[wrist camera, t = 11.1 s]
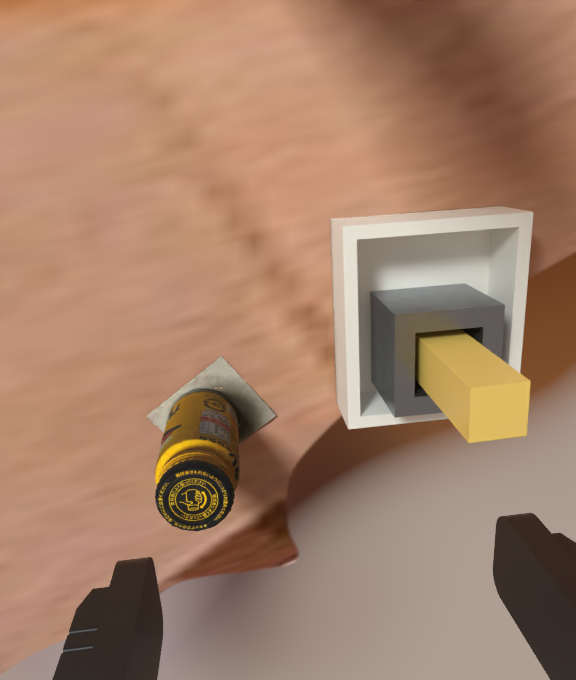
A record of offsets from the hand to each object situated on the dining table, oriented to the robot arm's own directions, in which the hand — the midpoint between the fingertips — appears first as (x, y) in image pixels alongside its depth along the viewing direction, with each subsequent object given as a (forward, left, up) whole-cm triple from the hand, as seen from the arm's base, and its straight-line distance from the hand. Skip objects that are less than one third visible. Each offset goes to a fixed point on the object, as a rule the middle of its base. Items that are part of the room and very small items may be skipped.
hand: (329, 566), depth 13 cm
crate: (+4, +13, -33) cm, 36 cm away
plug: (+6, +13, -30) cm, 33 cm away
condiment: (+12, -5, -33) cm, 36 cm away
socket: (+6, +13, -32) cm, 36 cm away
